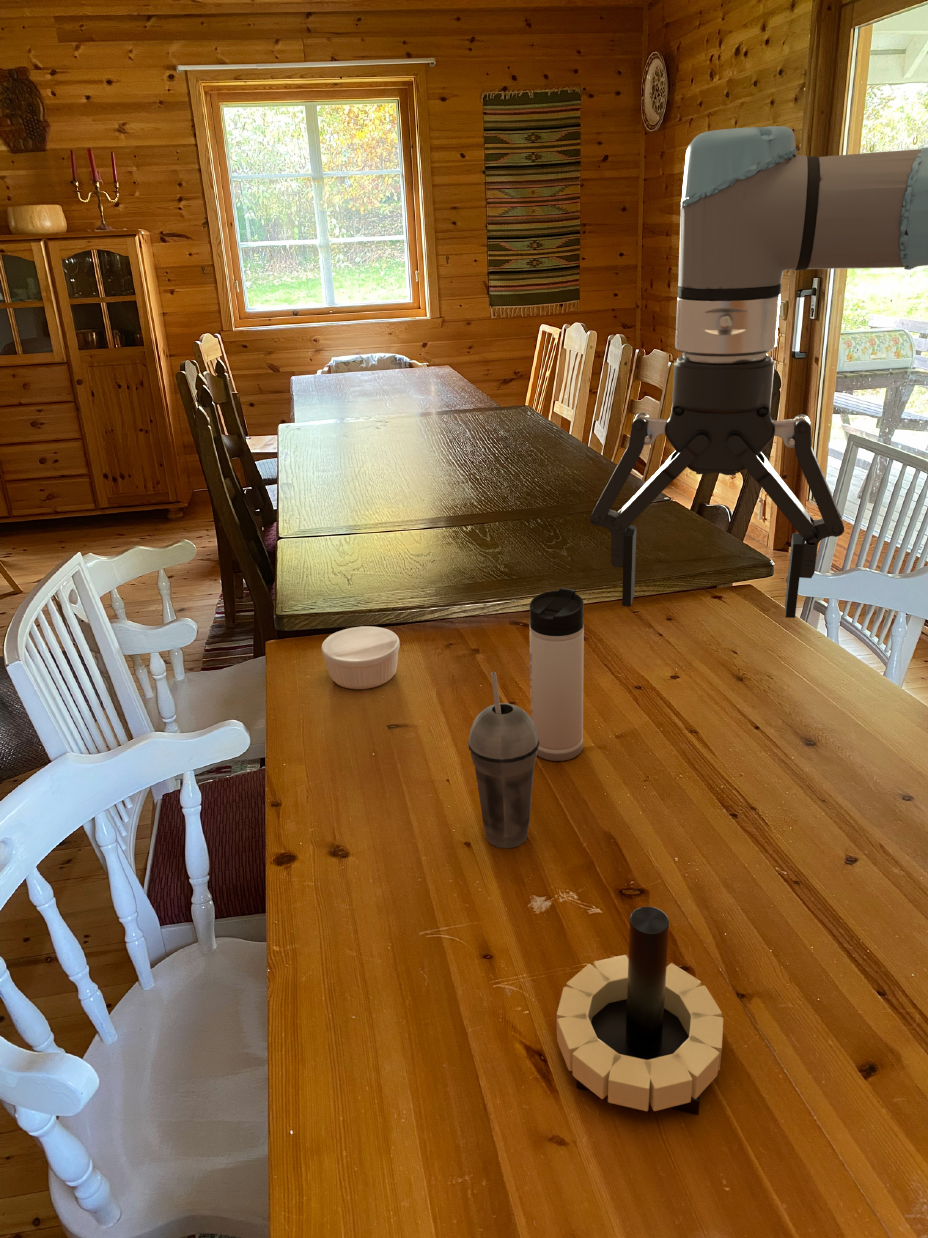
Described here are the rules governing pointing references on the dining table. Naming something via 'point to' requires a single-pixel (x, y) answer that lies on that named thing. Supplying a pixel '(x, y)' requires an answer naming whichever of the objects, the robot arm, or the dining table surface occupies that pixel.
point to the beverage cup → (504, 769)
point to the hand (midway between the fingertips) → (707, 606)
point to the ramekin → (361, 656)
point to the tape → (631, 1076)
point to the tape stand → (644, 1000)
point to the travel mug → (557, 673)
